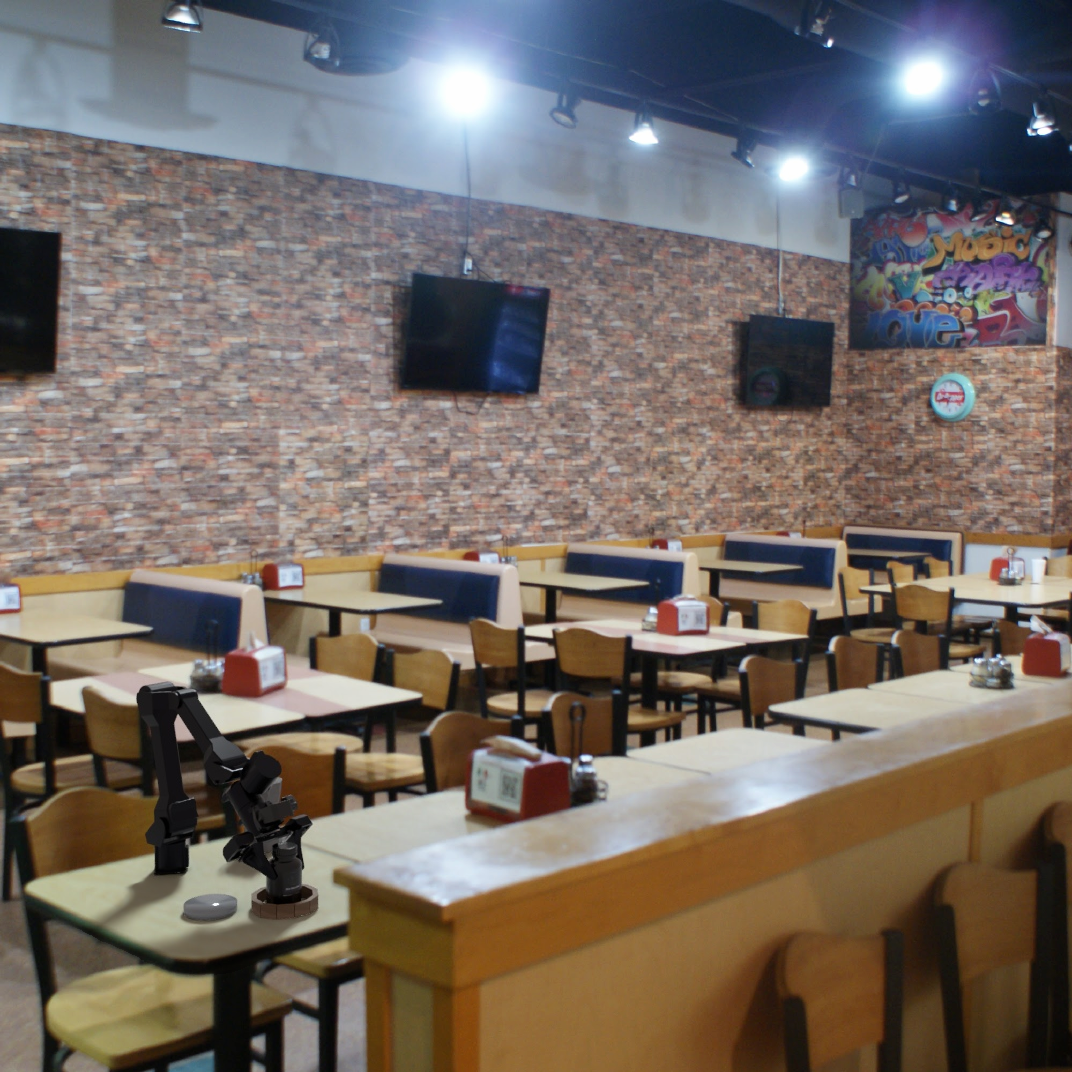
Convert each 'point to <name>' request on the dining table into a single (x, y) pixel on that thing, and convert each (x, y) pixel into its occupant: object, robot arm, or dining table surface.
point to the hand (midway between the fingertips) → (288, 874)
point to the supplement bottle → (285, 875)
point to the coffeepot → (273, 797)
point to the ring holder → (284, 909)
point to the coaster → (210, 907)
